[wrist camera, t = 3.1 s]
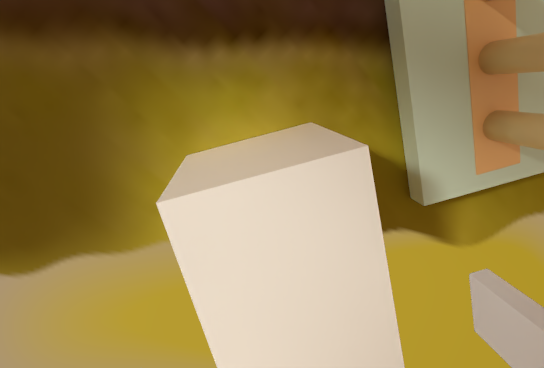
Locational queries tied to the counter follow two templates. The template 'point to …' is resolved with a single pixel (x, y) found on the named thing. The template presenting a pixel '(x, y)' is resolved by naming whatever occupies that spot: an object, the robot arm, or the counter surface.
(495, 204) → the counter surface
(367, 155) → the white rectangular block
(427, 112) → the header block
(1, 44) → the counter surface
